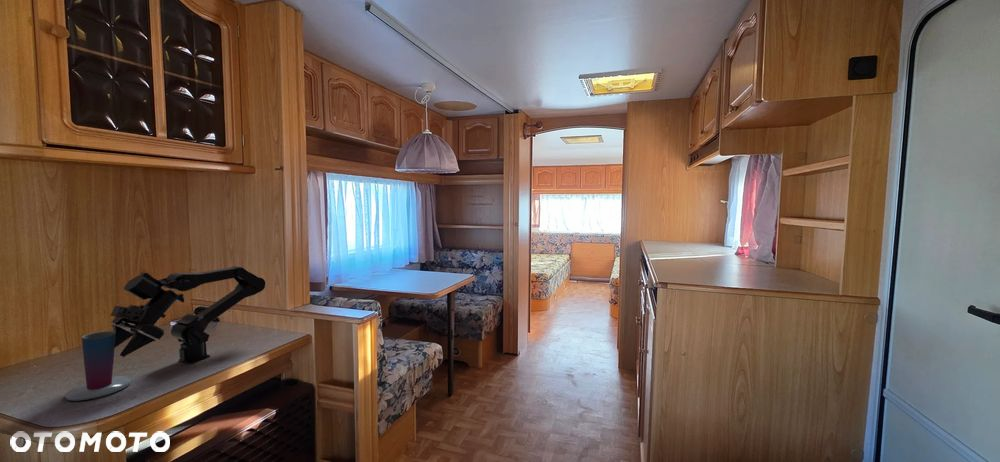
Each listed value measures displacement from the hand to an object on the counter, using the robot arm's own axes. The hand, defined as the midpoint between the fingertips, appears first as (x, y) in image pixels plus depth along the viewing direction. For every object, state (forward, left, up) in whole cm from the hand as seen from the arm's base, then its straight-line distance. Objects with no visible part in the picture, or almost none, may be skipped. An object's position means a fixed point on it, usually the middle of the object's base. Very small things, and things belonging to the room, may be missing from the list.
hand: (113, 353), depth 113 cm
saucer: (+4, 0, -10) cm, 10 cm away
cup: (+4, -1, -8) cm, 9 cm away
